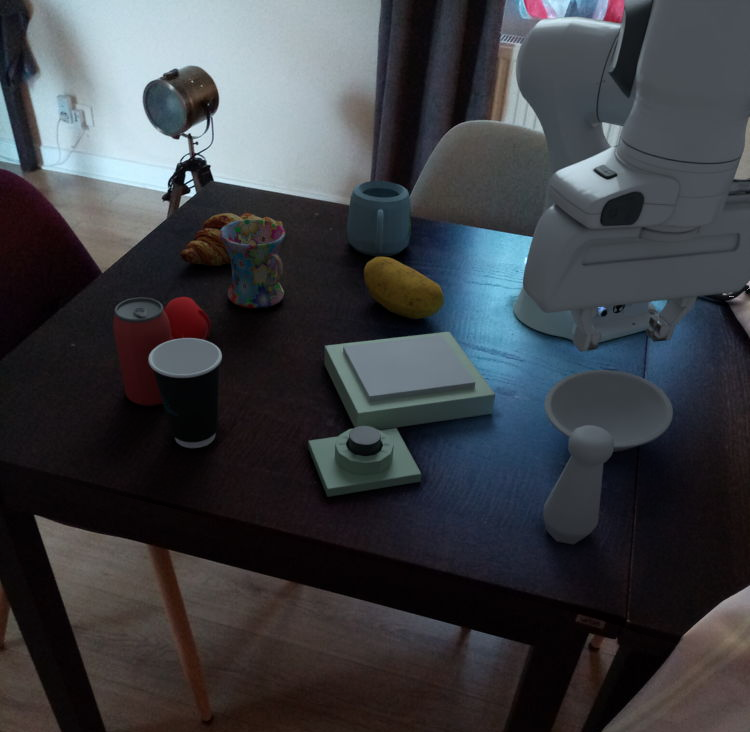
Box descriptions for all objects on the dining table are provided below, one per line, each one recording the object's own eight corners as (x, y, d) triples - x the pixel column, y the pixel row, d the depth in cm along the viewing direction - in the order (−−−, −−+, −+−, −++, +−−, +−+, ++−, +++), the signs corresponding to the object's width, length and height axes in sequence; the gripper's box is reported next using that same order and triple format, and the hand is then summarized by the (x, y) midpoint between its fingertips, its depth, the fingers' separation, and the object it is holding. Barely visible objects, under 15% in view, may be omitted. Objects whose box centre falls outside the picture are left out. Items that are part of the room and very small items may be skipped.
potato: (413, 338, 113) (418, 293, 108) (352, 299, 121) (353, 255, 116) (449, 324, 117) (455, 280, 112) (387, 287, 125) (390, 244, 120)
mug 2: (410, 273, 129) (415, 213, 122) (343, 269, 129) (345, 209, 122) (408, 235, 140) (413, 178, 133) (347, 232, 140) (349, 175, 133)
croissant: (270, 248, 141) (255, 203, 138) (306, 238, 134) (290, 190, 131) (176, 283, 128) (156, 234, 125) (210, 274, 121) (190, 221, 118)
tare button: (374, 435, 91) (375, 423, 90) (384, 454, 88) (385, 442, 87) (344, 440, 90) (345, 427, 89) (353, 459, 87) (354, 446, 86)
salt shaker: (592, 554, 82) (625, 457, 73) (537, 545, 82) (563, 447, 74) (592, 517, 86) (623, 421, 77) (540, 508, 87) (565, 412, 78)
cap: (219, 350, 108) (216, 310, 104) (177, 360, 106) (172, 320, 102) (198, 323, 113) (194, 285, 109) (158, 332, 111) (152, 293, 107)
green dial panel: (395, 435, 95) (397, 415, 93) (420, 481, 89) (423, 461, 87) (308, 448, 93) (307, 428, 91) (327, 497, 86) (327, 476, 84)
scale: (446, 350, 111) (450, 326, 109) (492, 413, 100) (496, 389, 97) (324, 364, 107) (324, 340, 104) (357, 433, 95) (358, 407, 93)
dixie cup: (147, 445, 91) (133, 364, 84) (183, 410, 97) (173, 331, 90) (207, 463, 90) (198, 382, 82) (240, 426, 95) (234, 347, 88)
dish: (616, 499, 89) (628, 465, 85) (511, 443, 95) (518, 410, 92) (683, 433, 99) (696, 400, 96) (584, 387, 106) (593, 355, 102)
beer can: (133, 413, 96) (117, 326, 88) (120, 386, 100) (103, 300, 92) (186, 401, 98) (174, 315, 91) (170, 375, 103) (158, 291, 95)
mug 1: (214, 295, 120) (207, 227, 113) (265, 280, 124) (262, 214, 117) (256, 327, 113) (252, 258, 106) (309, 310, 118) (308, 242, 111)
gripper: (755, 162, 65) (700, 313, 74) (531, 176, 59) (502, 337, 69) (807, 190, 60) (742, 347, 69) (571, 207, 55) (534, 375, 64)
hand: (621, 342), depth 69 cm, fingers open, 6 cm apart
